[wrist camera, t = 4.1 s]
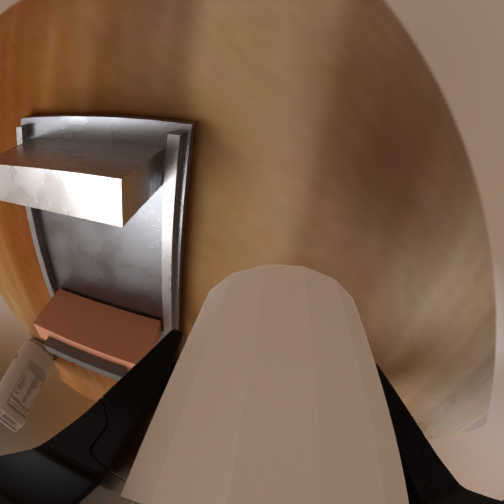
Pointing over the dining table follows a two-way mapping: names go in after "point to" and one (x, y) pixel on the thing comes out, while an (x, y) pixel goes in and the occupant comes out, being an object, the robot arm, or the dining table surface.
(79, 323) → the sliding jaw
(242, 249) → the dining table surface
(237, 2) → the dining table surface
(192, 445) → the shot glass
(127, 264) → the vise base
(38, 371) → the energy drink can
